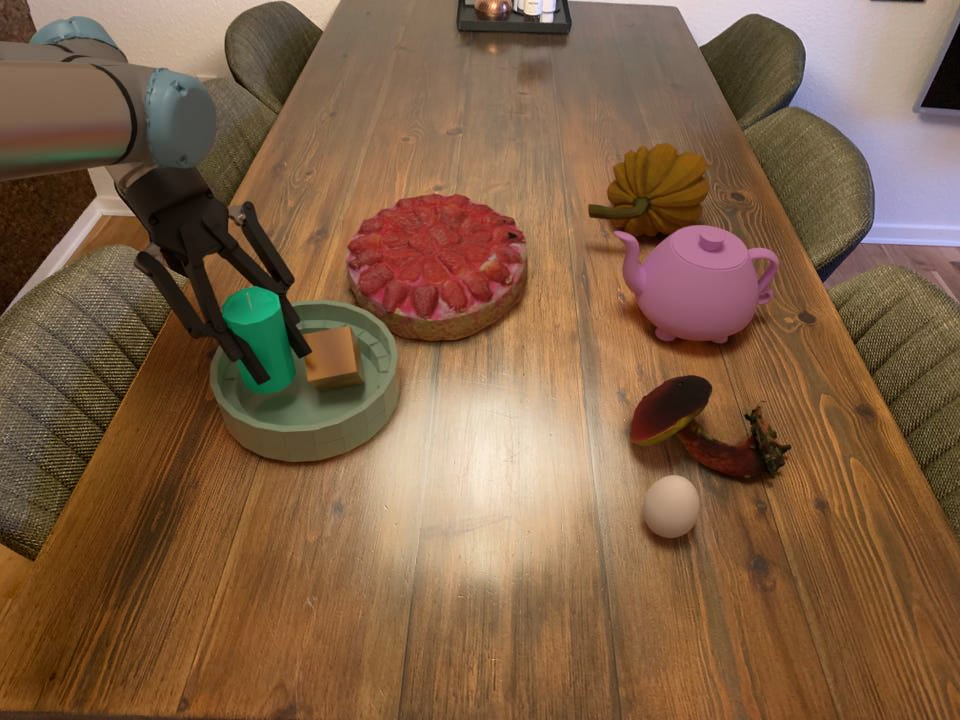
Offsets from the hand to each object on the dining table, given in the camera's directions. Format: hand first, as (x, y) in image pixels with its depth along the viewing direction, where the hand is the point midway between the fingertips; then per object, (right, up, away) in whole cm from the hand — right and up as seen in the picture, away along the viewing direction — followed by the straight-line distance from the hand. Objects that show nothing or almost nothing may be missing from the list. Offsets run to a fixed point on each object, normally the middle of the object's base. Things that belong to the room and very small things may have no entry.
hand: (285, 368), depth 76 cm
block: (+4, 0, +8) cm, 9 cm away
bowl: (+1, -3, +8) cm, 9 cm away
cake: (+15, +12, +24) cm, 31 cm away
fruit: (+46, +21, +34) cm, 61 cm away
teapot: (+48, +6, +20) cm, 52 cm away
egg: (+40, -16, -3) cm, 43 cm away
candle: (-3, -1, +5) cm, 6 cm away
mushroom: (+46, -9, +5) cm, 47 cm away
